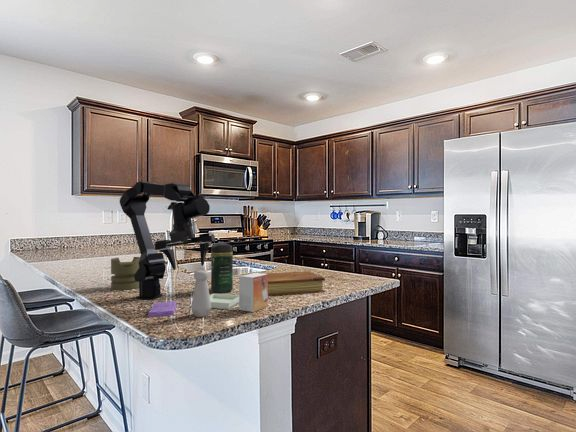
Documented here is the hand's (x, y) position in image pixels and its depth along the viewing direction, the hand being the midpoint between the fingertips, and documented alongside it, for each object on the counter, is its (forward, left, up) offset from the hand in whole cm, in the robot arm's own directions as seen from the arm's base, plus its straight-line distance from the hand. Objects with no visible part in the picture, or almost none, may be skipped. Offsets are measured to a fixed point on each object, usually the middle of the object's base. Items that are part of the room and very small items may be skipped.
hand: (188, 267), depth 118 cm
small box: (+23, +1, -12) cm, 26 cm away
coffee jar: (+1, +23, -12) cm, 26 cm away
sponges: (-4, -9, -13) cm, 16 cm away
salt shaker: (+11, -10, -12) cm, 19 cm away
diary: (+25, +33, -13) cm, 43 cm away
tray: (+10, +4, -12) cm, 16 cm away
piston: (-39, +18, -12) cm, 45 cm away
